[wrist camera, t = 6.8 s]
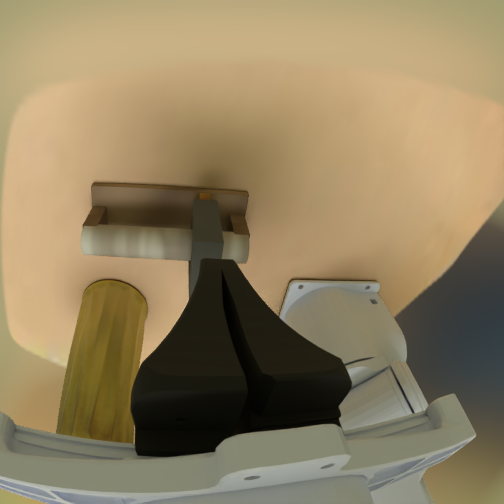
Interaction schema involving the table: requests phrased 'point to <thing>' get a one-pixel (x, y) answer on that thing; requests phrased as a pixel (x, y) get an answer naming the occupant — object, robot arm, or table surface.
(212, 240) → the dark grey square frame
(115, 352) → the vase
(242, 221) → the pipe stand
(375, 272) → the table surface
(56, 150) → the table surface
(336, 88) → the table surface
